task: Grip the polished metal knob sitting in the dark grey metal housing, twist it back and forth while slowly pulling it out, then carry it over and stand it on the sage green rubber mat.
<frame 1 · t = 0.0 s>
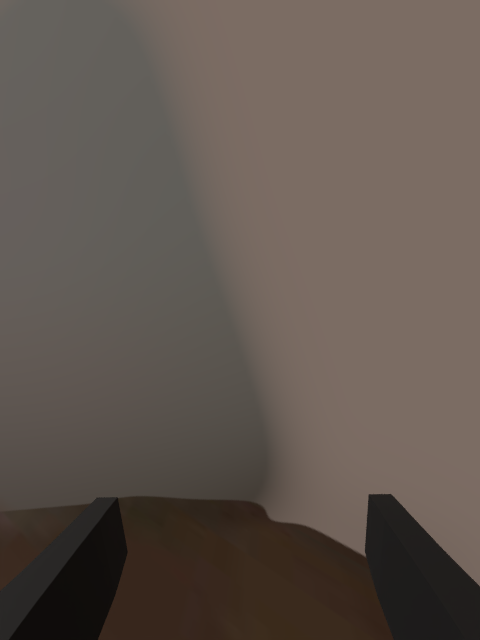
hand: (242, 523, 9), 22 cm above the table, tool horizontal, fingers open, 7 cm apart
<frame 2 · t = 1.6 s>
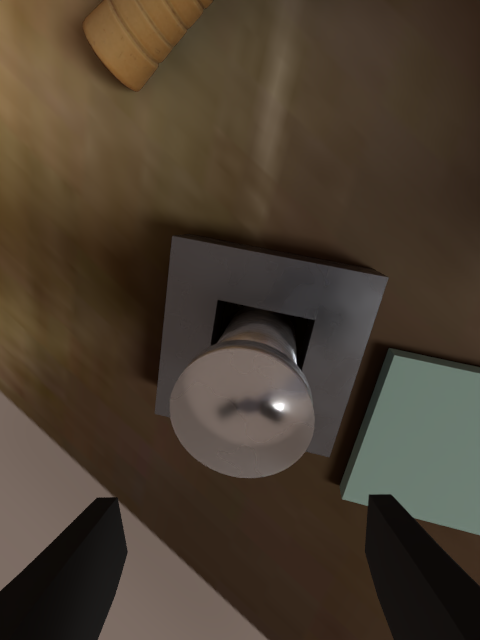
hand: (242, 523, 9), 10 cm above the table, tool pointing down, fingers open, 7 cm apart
rubber mat: (448, 443, 18), on the table
polished metal knob: (253, 367, 14), in the metal housing
metal housing: (260, 337, 18), on the table
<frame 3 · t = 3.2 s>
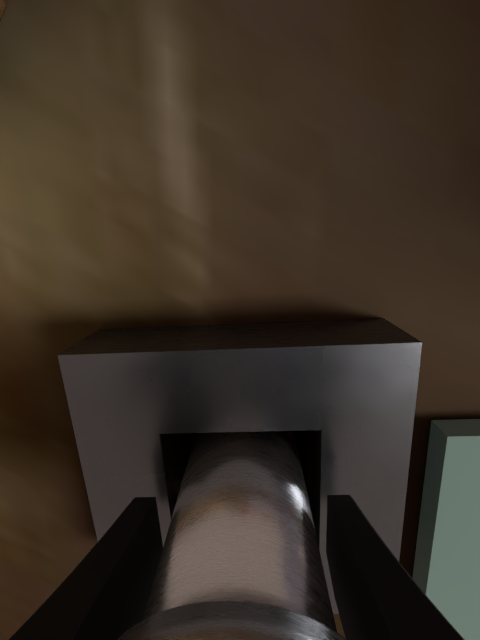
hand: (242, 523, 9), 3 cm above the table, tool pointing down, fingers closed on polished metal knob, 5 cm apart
polished metal knob: (241, 543, 8), in the metal housing, touching gripper
metal housing: (245, 446, 12), on the table
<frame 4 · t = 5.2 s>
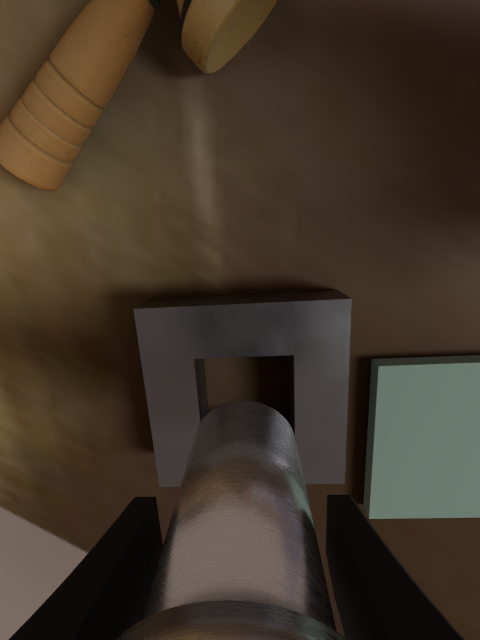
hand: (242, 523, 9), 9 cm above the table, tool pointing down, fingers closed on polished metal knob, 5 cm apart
rubber mat: (453, 434, 18), on the table
polished metal knob: (241, 542, 8), point 10 cm above the table, touching gripper
kendama: (168, 29, 14), on the table
metal housing: (246, 379, 18), on the table
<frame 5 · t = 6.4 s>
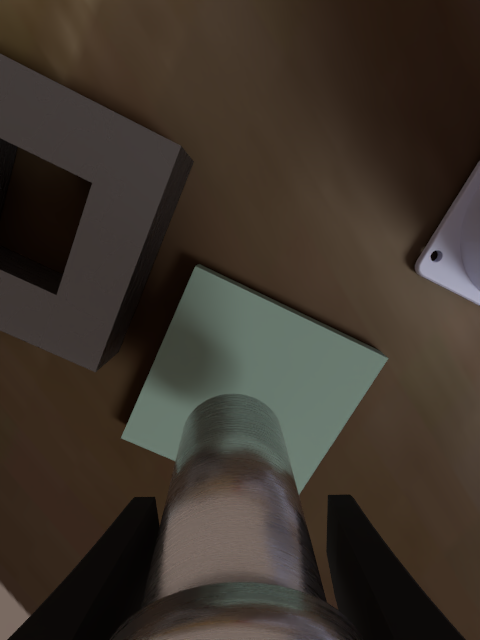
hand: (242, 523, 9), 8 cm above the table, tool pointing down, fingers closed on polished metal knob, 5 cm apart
rubber mat: (247, 390, 17), on the table
polished metal knob: (233, 530, 9), point 8 cm above the table, touching gripper
metal housing: (54, 218, 15), on the table
when the fingers open (5 cm above the table, at t = 7.3 s): polished metal knob stays where it is, resting on rubber mat.
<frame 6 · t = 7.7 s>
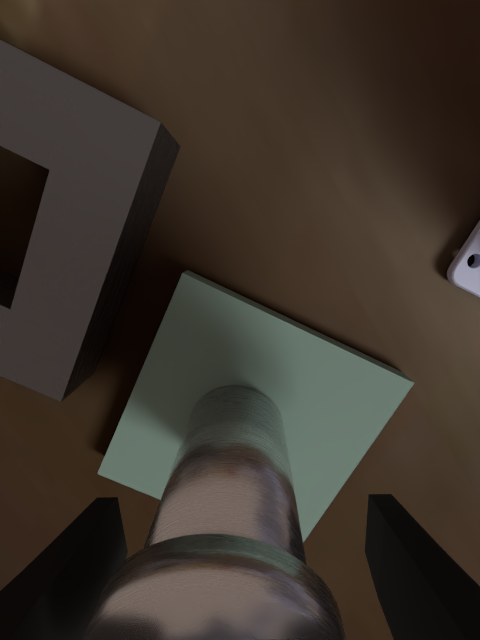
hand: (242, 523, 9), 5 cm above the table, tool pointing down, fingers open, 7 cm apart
rubber mat: (246, 418, 14), on the table
polished metal knob: (229, 507, 9), on the rubber mat, point 5 cm above the table
metal housing: (14, 215, 12), on the table
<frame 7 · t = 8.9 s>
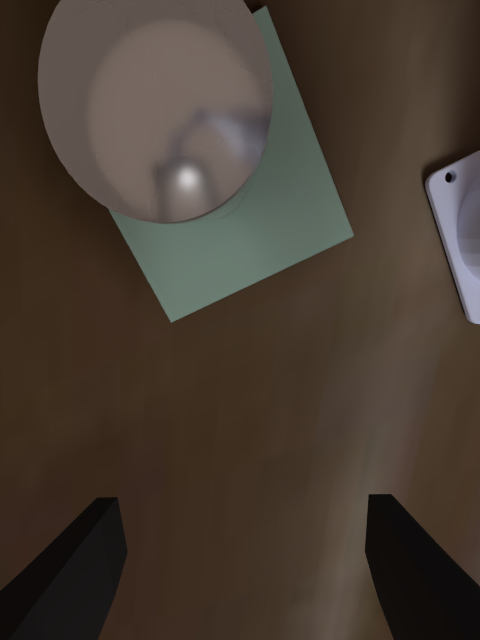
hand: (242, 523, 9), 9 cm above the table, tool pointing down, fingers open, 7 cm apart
rubber mat: (215, 187, 15), on the table
polished metal knob: (190, 151, 10), on the rubber mat, point 5 cm above the table
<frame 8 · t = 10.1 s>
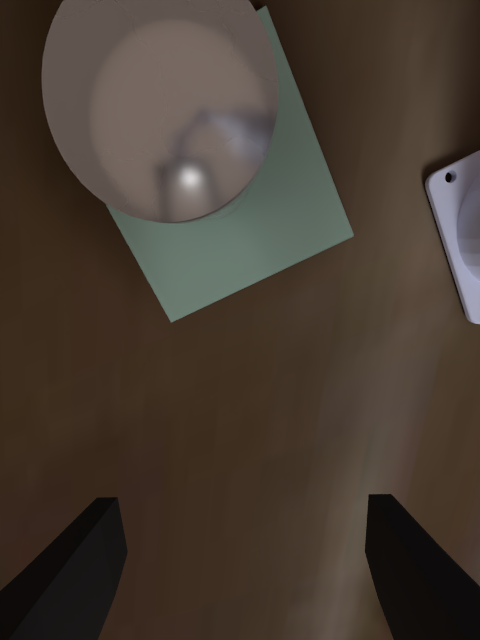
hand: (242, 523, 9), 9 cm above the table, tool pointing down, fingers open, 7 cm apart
rubber mat: (215, 187, 15), on the table
polished metal knob: (192, 150, 10), on the rubber mat, point 5 cm above the table
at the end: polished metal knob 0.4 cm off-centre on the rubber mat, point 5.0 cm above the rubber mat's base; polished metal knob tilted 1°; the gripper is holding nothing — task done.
